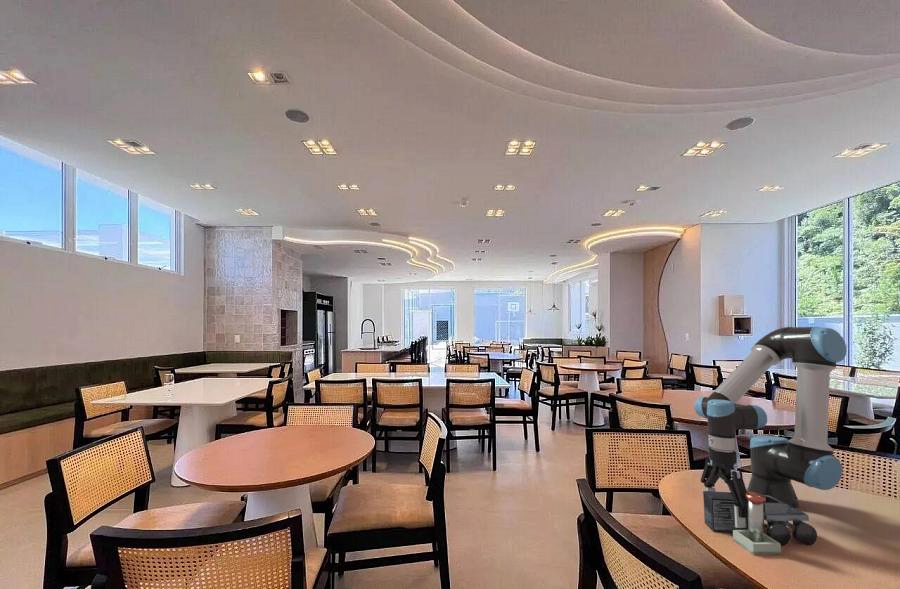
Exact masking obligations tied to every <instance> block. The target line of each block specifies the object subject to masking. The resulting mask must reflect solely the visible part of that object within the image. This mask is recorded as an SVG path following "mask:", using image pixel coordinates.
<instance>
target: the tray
mask: <svg viewBox="0 0 900 589" xmlns="http://www.w3.org/2000/svg"><path fill="white" fill-rule="evenodd" d="M763 536H764V542H762V543H754V542H752V541H751V540H749V539H748V530H733V533H732V540H733V542H735V543H736V544H738V546H741V547H742V548H743V549H745V551H748V553H750V554H751V555H753V556H780V555H781V556H782V546H781V544H780V543H779V542H777V541H776V540H774V539H772V538H771V537H769V536H768V535H766V533H765V532H763Z"/></svg>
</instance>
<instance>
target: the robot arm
mask: <svg viewBox="0 0 900 589" xmlns="http://www.w3.org/2000/svg"><path fill="white" fill-rule="evenodd" d="M750 350H751V352H750V353H749V354H748V355H747V356H746V357H745V358H744V359H743V360H742V361H741V362H740V364H739V365H738V366H737V367H736V368H734V370H732V372H731V373H730V374H729V375H728V376H726V377H725V379H724V380H723V381H722V382H721V383H720V384H719V386H718V387H716V389H714V391H712V393H711V394H709V396H708V397H707V396H700V397H698V398H697V399H696V400H695V401H694V407H693V408H694V412H695V413H696V414H697V416H699V417H700V418H704V419H706V420H707V434H708V439H707V440H708V457H705V464H704V467H703V471H702V474H701V476H700V477H701V478H700V483H702V484H703V485H704V486H703V487H705V491H714V492H716V485H715V484H716V483H717V482H718V480H719V479H721V480H723V482H724V483H725V484H727V487H728V489H729V491H730V492H731V493H732V496H733V498H734V500H735V502H736V504H735V505H734V510H735V527H737V528H746V523H745V518H746V507H748V500H747V499H746V498H745V493H746V492H756V493H760V494H762V495H769V496H771V497H773V498H775V499H777V500H779V501H781V502H783V503H785V504H788V505H790V506H791V507H793V508H795V509H798V508H799V499H798V497H797V493H796V490H795V489H794V487H793V485H792V481H795V482H797V483H800V484H803V485H806V486H808V488H809V487H810V488H815V489H818V490H821V491H828V490H831V489H833V488H835V487H836V485H837V486H838V484H839V483H840V481H841V479H842V476H843V471H844V470H843V468H844V467H843V464H842V463H841V460H840V459H838V458H837V457H836V456H834V449H833V448H832V447H831V446H830V445H829V442H828V434H829V433H828V432H829V408H830V406H829V405H830V404H829V403H830V378H831V376H830V375H831V372H832V371H833V370H835V369H837V364H838V363H840V362H842V361H844V359H845V357H846V356H847V344H846V341H845V339H844V337H843V336H842V335H841V334H840V333H839V332H838V331H837V330H836V329H833V328H830V327H824V326H823V327H820V326H799V327H797V326H794V327H793V326H787V327H786V326H784V327H780V328H777V329H774V330H773V331H771V332H768V333H767V334H766V335H764V336H763V337H761V338H760V339H759V340H758V341H757V342H755V343H754V345H753V346H751V348H750ZM786 359H791V364H793V365H794V367H795V368H796V369H797V370H796V389H795V391H796V392H795V411H794V416H795V417H794V434H793V437H792V438H790V439H788V438H786V437H780V436H772V435H770V436H769V435H758V436H757V435H756V436H753V437H751V438H750V441H749V442H750V443H749V444H750V445H749V455H750V469H751V477H750V480H749V483H748V487H747V488H746V485H745V481H744V479H743V478H744V477H743V472H742V470H735V467H734V465H735V464H737V462H738V460H737V458H738V457H737V452H736V450H737V437H736V430H738V431H739V430H756V429H761V428H764V427H765V426H766V425H767V424H768V415H767V413H766V411H765V410H764V409H763V407H761V406H758V405H755V404H745V405H744V404H740V403H738V402H739V401H740V400H741V398H742V397H744V395H746V394H747V393H748V391H749V390H750V389H752V387H753V386H754V385H755V384H756V383H757V382H758V381H759V380H760V379H761V377H762V376H763V375H764V374H765V373H766V372H767V371H768V370H769V369H770V368H771V367H772V366H777V365H778V364H780V362H781V361H784V360H786ZM739 501H740V502H739Z"/></svg>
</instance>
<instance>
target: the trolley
mask: <svg viewBox="0 0 900 589" xmlns="http://www.w3.org/2000/svg"><path fill="white" fill-rule="evenodd" d="M764 496H765V497H766V502H765V503H763V529H765V534H766V535H768V536H769V537H771V538H772V539H774V540H776V541H777V542H779V543H780V544H781V547H785V546H786V545H788V544H789V543H790V542H791V539H792V538H793V539H794V540H795V541H797V542H798V543H800V544H802V545H803V546H806V547H807V546H808V547H809V546H813V545H814V544H815V543H816V541H817V540H818V532H817V530H816V528H815V527H814V526H812V525H811V524H809V523H807V522H808V521H809V520H810V518H809V514H807V513H805V512H803V511H801V510H799V509H798V508H796V509H795V508H793V507H791V506H790V505H788V504H785V503H783V502H781V501H779V500H777V499H775V498H773V497H771V496H769V495H764ZM747 516H748V507H747ZM805 521H806V522H805ZM765 522H766V523H765ZM791 522H792V523H791ZM789 528H790V529H791V531H790V529H789Z"/></svg>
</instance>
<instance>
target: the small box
mask: <svg viewBox="0 0 900 589" xmlns="http://www.w3.org/2000/svg"><path fill="white" fill-rule="evenodd" d="M702 496H703V510H704V511H703V513H704V514H703V516H704V524H705V525H706V526H707V527H708V528H709V529H710V530H711V531H712V532H714V533H728V534H733V530H748V516H747V507H746V518H745V523H746V528H737V527H735V510H734V505H735V504H736V502H735V500H734V498H733V496H732V493H731V491H730V492H729V491H715V492H714V491H706V490H703V491H702ZM739 502H740V501H739Z"/></svg>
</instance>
